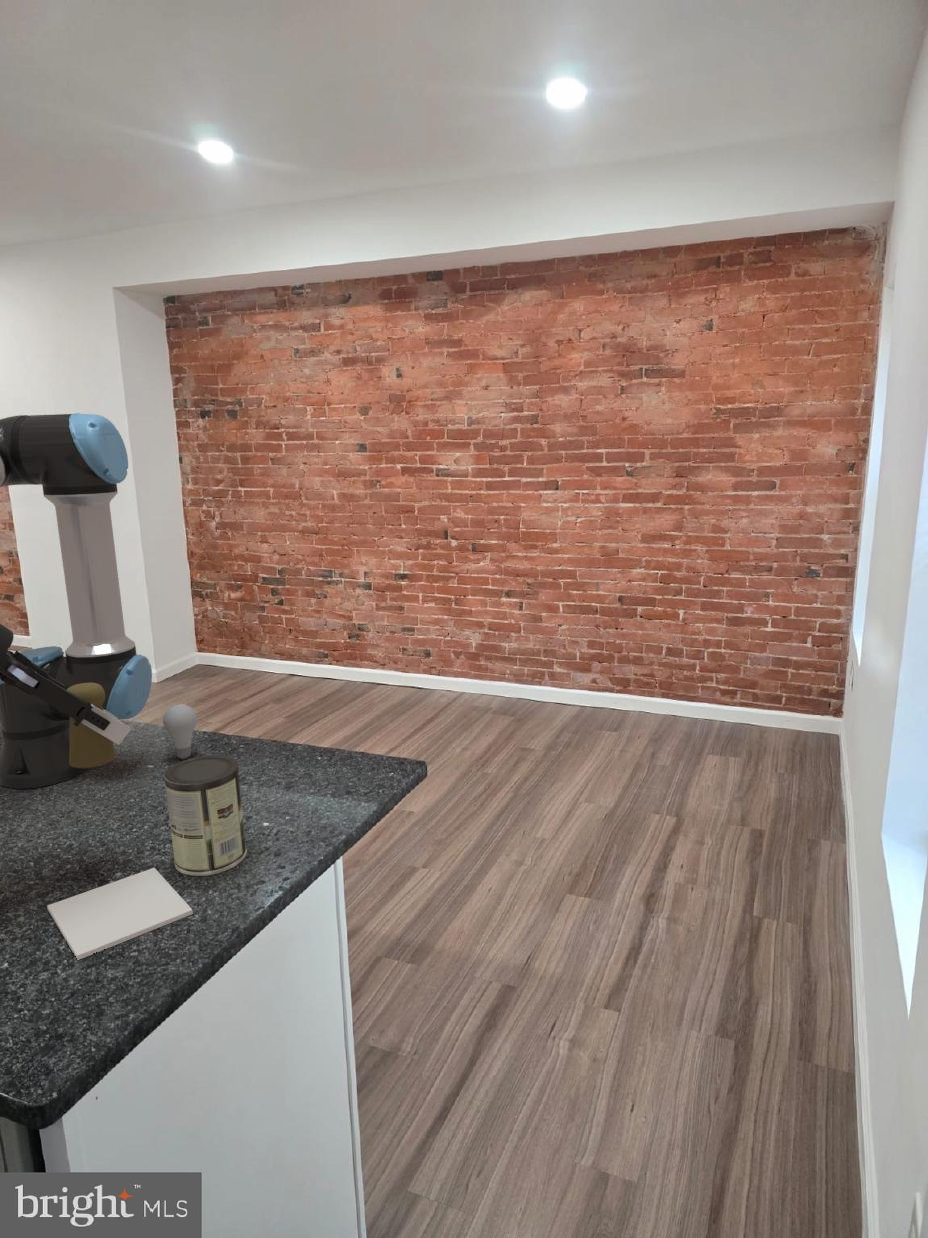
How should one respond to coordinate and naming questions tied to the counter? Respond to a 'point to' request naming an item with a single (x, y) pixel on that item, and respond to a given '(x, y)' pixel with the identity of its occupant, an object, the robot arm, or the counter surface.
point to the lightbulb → (180, 727)
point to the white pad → (117, 912)
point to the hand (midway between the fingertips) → (117, 730)
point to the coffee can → (205, 814)
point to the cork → (89, 732)
